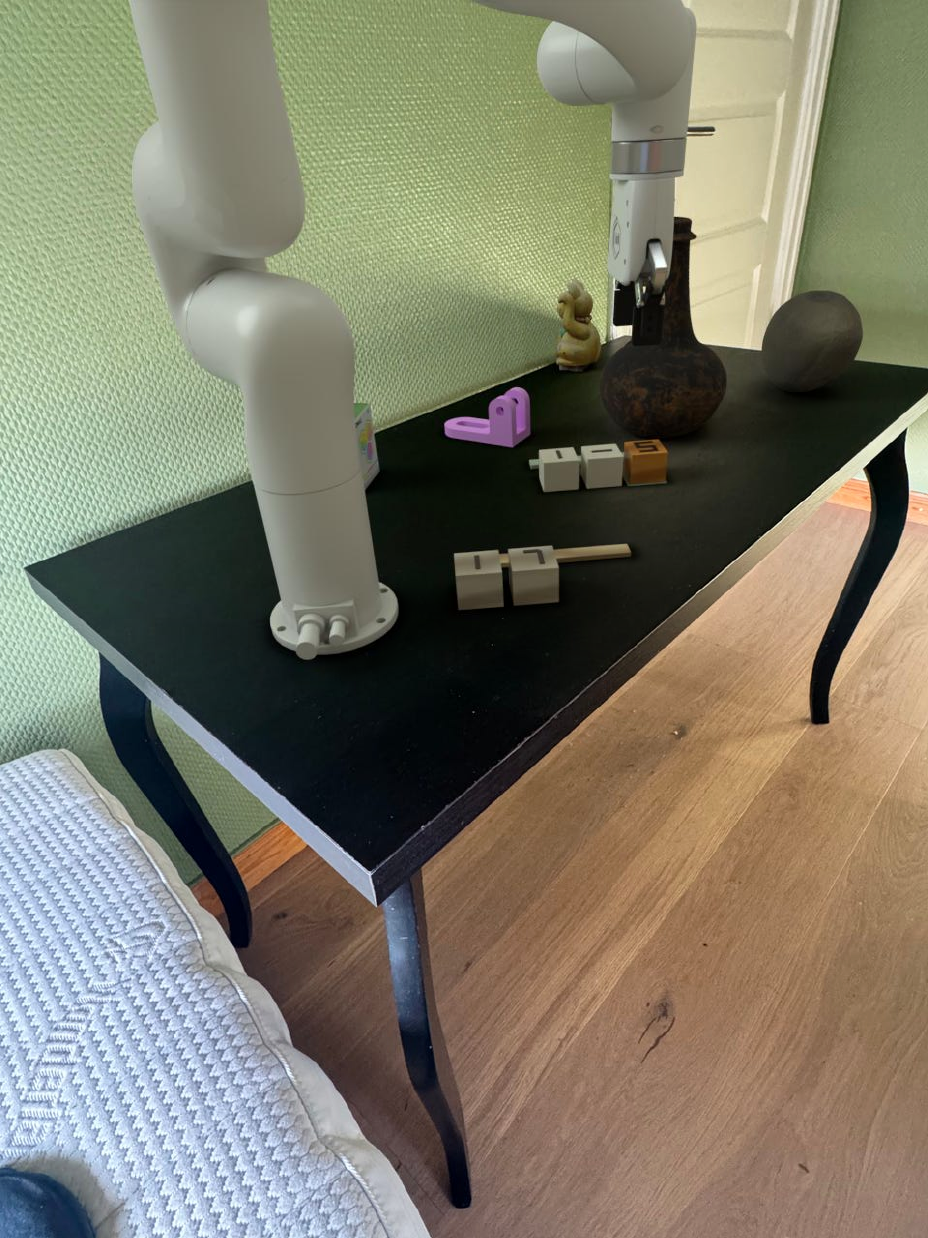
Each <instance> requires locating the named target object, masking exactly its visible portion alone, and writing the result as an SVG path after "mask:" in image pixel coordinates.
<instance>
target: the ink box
mask: <svg viewBox="0 0 928 1238" xmlns="http://www.w3.org/2000/svg"><path fill="white" fill-rule="evenodd" d="M354 416H355V427H356V435H357V442H358V450H359V456H360V463H361V469H362V476H363V482H364V489H365V491H366V490H367V488H368V487H369V486H370V485H371V483H372V482H373V481H374V479H375V477H376V476H377V475H378V474H379V472H380V465H379V457H378V452H377V444H376V443H377V442H376V438H375V436H376V435H375V431H374V423H373V415H372V408H371V404H370V402H369V403H366V402H354Z"/></svg>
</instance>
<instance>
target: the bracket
mask: <svg viewBox="0 0 928 1238" xmlns="http://www.w3.org/2000/svg"><path fill="white" fill-rule="evenodd" d="M515 399H516V400H517V402H516V400H515ZM530 400H531V399H530V396H529V394H528V392H527V391H526V389H524V388H522V387H518V386H515V387H512V388H510V389H509V390H507V391H505V393H504V394H503V395H499V396H497V397H496V398H494V399H493V400H492V401H491V402H490V403H489V404H488V405H489V406H488V419H486V418H477V417H471V416H459V417H454V418H451V419H448V420H446V421H445V422H444V426H443V427H444V434H445V436H446V437H448V438H451V439H458V440H462V441H469V442H477V443H483V444H488V445H489V444H490V445H496V446H502V447H507V448H514V447H515V446H516V445H518V444H519V443H521V442H522V441H524V440H525V439H526V438H528V437H529V436H530V435H531V405H530V404H531V402H530Z"/></svg>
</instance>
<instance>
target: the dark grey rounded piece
mask: <svg viewBox="0 0 928 1238" xmlns="http://www.w3.org/2000/svg"><path fill="white" fill-rule="evenodd" d="M863 337H864V330H863V322H862V318H861V314H860V313H859V310H857V308H856V306H855V305H854V304H853V303H852V301H851V300H849V299H848V298H847V297H846V296H844V295H843V294H841V293H839V292H835V291H832V290H808V291H805V292H801V293H799V294H798V293H797V294H796V295H794V296H792V297H791V298H790V299H788V300H786V301H785V302H784V303H782V305H781V306H780V307H778V309H777V310H776V311H775V312H774V313H773V315H772V316H771V318H770V320H769V322H768V324H767V326H766V328H765V331H764V335H763V337H762V341H761V351H760V352H761V353H760V355H761V361H762V366H763V369H764V371H765V374H766V375H767V378H768V379H769V380H770V382H771V383H772V384H773V385H774V386H775V387H776V388H777V389H780V390H782V391H784V392H788V393H806V392H810V391H814V390H816V389H819V388H821V387H824V386H825V385H827V384H829V383H831V382H832V381H834V380H836V379H837V378H838V377H840V376H841V375H843V373H844V372H846V370H848V368H850V366H851V365H852V364H853V362H854V361H855V359H856V357H857V355H858V353H859V350H860V348H861V346H862V342H863Z"/></svg>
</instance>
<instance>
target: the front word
mask: <svg viewBox="0 0 928 1238" xmlns="http://www.w3.org/2000/svg"><path fill="white" fill-rule="evenodd" d="M631 557H632V551H631V549H630V547H629V544H628V543H620V544H619V543H617V544H605V545H593V546H582V547H570V548H569V547H568V548H558V549H554V547H553V545H543V546H530V547H519V548H507V553H500V551H499V549H493V550H482V551H481V550H480V551H470V552H457V553H456V552H455V553H453V560H454V570H455V571H454V573H455V585H456V586H455V587H456V596H457V607H458V609H457V610H458V611H465V610H467V611H468V610H478V609H490V608H503V607H504V605H505V603H504V586H503V585H504V584H503V582H504V581H503V570H502V568H508V578H509V579H508V581H509V588H510V594H511V599H512V604H513V606H526V605H528V606H529V605H539V604H540V605H541V604H552V603H553V604H554V603H559V601H560V566H559V564H560V563H572V562H573V563H574V562H586V561H598V560H608V559H621V558H622V559H623V558H631Z"/></svg>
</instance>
